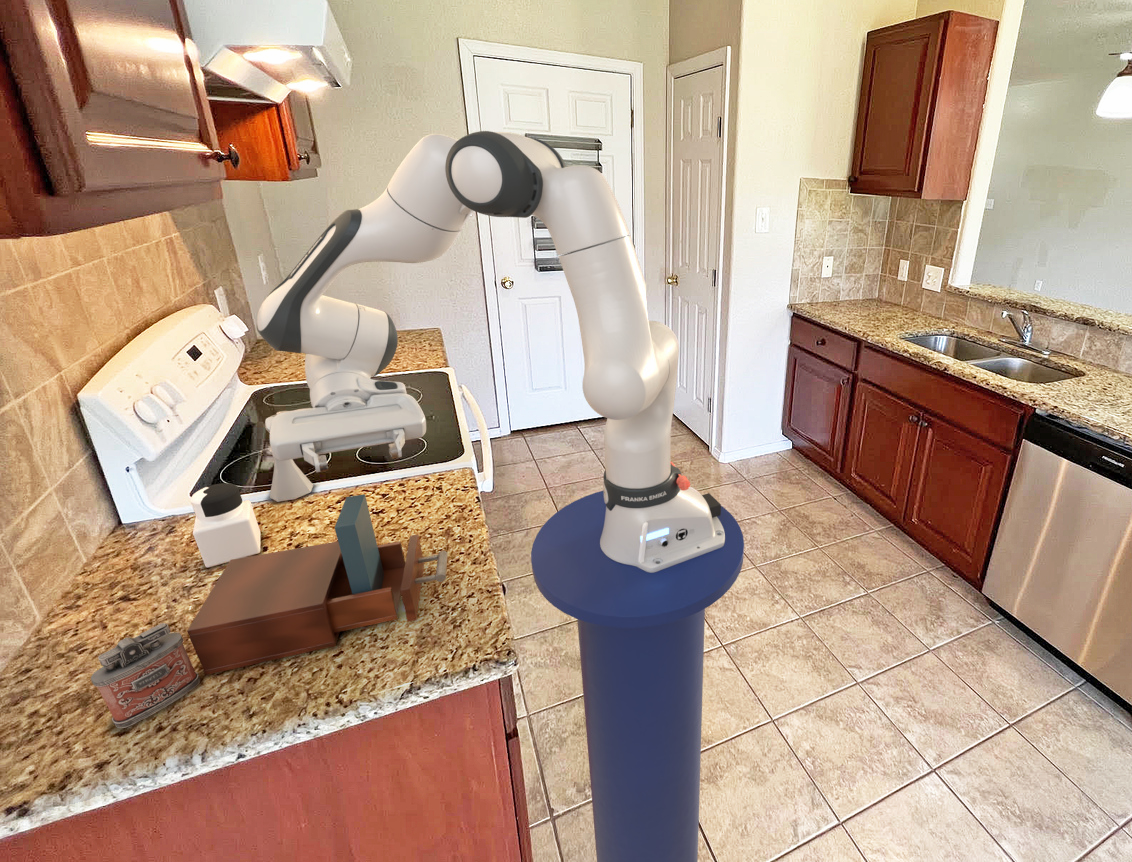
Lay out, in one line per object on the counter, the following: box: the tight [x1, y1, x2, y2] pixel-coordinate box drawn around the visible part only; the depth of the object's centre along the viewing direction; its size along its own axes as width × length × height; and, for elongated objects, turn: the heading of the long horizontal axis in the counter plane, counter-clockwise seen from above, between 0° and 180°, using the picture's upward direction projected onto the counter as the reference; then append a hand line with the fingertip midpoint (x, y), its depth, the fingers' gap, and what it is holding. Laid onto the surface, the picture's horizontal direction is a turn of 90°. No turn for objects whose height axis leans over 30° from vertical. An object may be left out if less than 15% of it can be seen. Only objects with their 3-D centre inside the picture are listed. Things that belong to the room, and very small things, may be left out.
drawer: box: [326, 534, 449, 633], centre depth 86 cm, size 18×13×6 cm
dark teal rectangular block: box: [334, 493, 384, 595], centre depth 83 cm, size 2×8×15 cm, turn 21°
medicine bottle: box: [190, 482, 261, 568], centre depth 95 cm, size 7×7×12 cm
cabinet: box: [186, 541, 342, 676], centre depth 82 cm, size 15×15×8 cm
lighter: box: [90, 622, 201, 729], centre depth 69 cm, size 8×3×10 cm, turn 151°
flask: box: [268, 448, 314, 502], centre depth 112 cm, size 7×7×10 cm
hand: (360, 461), depth 84 cm, fingers open, 8 cm apart
